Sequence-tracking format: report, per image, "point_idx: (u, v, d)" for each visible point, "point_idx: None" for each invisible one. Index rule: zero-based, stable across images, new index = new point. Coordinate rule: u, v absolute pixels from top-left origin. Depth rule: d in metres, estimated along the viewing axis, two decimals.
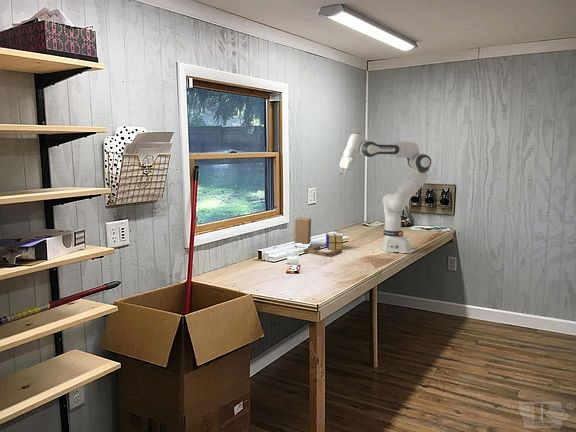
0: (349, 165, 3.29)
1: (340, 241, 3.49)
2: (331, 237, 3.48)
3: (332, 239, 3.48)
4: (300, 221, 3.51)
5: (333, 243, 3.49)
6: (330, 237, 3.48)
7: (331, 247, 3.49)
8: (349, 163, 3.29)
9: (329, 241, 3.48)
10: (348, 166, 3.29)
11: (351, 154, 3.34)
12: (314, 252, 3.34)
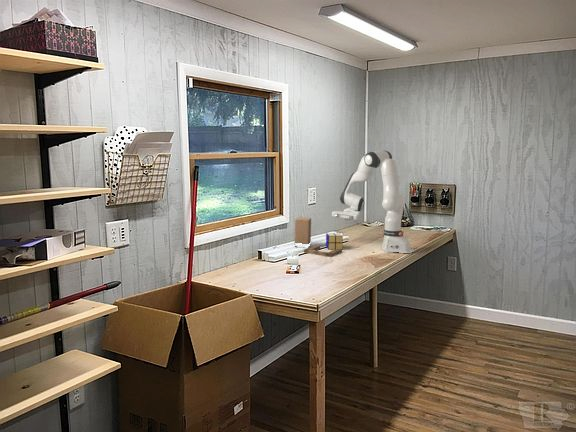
0: None
1: (340, 241, 3.49)
2: (331, 237, 3.48)
3: (332, 239, 3.48)
4: (300, 221, 3.51)
5: (333, 243, 3.49)
6: (330, 237, 3.48)
7: (331, 247, 3.49)
8: None
9: (329, 241, 3.48)
10: None
11: None
12: (314, 252, 3.34)
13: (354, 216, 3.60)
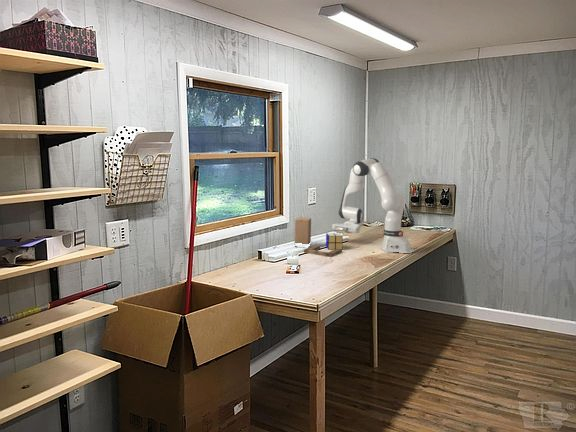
0: None
1: (340, 241, 3.49)
2: (331, 237, 3.48)
3: (332, 239, 3.48)
4: (300, 221, 3.51)
5: (333, 243, 3.49)
6: (330, 237, 3.48)
7: (331, 247, 3.49)
8: None
9: (329, 241, 3.48)
10: None
11: None
12: (314, 252, 3.34)
13: (353, 229, 3.62)
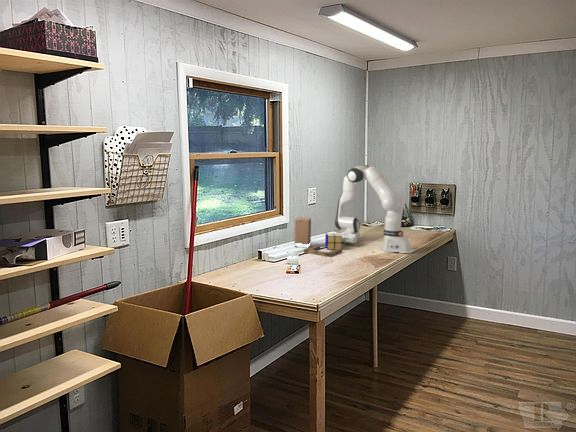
0: None
1: (339, 241, 3.48)
2: (330, 237, 3.47)
3: (331, 239, 3.47)
4: (300, 221, 3.51)
5: (332, 243, 3.48)
6: (329, 237, 3.47)
7: (331, 247, 3.48)
8: None
9: (328, 241, 3.48)
10: None
11: None
12: (314, 252, 3.34)
13: (350, 239, 3.58)
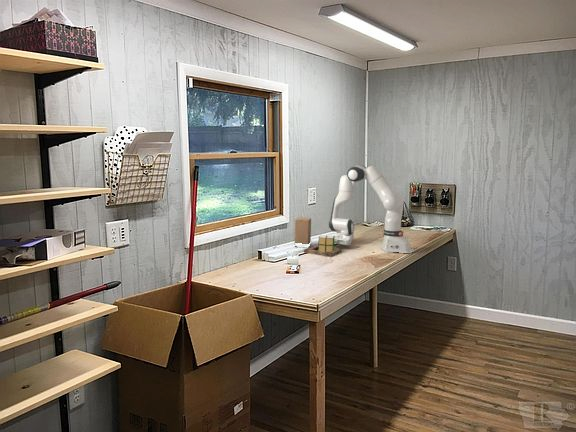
0: None
1: (331, 244, 3.40)
2: (321, 239, 3.40)
3: (322, 241, 3.40)
4: (300, 221, 3.51)
5: (323, 245, 3.41)
6: (320, 239, 3.40)
7: (322, 249, 3.41)
8: None
9: (319, 243, 3.41)
10: None
11: None
12: (314, 252, 3.34)
13: (344, 241, 3.50)
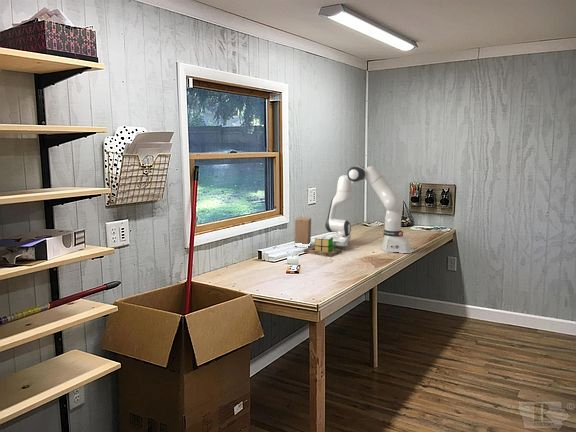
0: None
1: (326, 245, 3.35)
2: (317, 240, 3.37)
3: (318, 242, 3.37)
4: (300, 221, 3.51)
5: (319, 246, 3.37)
6: (316, 240, 3.37)
7: (318, 250, 3.38)
8: None
9: (315, 244, 3.38)
10: None
11: None
12: (314, 252, 3.34)
13: (341, 242, 3.45)
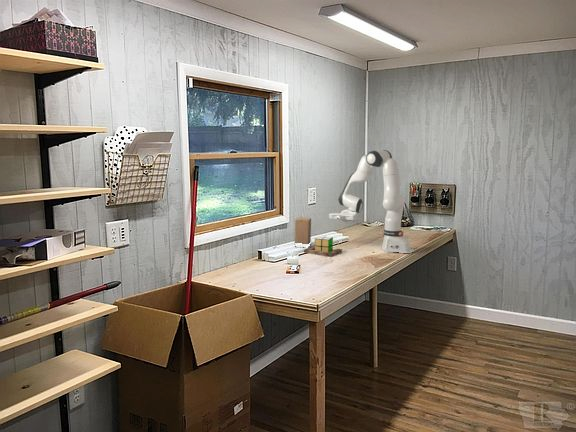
0: None
1: (326, 245, 3.35)
2: (317, 240, 3.37)
3: (318, 242, 3.37)
4: (300, 221, 3.51)
5: (319, 246, 3.37)
6: (316, 240, 3.37)
7: (318, 250, 3.38)
8: None
9: (315, 244, 3.38)
10: None
11: None
12: (314, 252, 3.34)
13: (351, 216, 3.54)
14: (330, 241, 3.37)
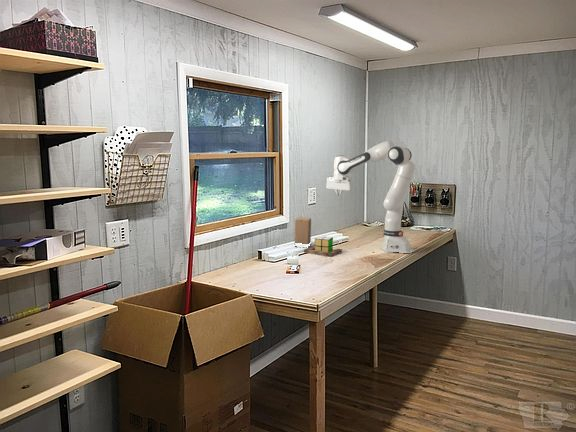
0: None
1: (326, 245, 3.35)
2: (317, 240, 3.37)
3: (318, 242, 3.37)
4: (300, 221, 3.51)
5: (319, 246, 3.37)
6: (316, 240, 3.37)
7: (318, 250, 3.38)
8: None
9: (315, 244, 3.38)
10: None
11: None
12: (314, 252, 3.34)
13: (348, 190, 3.70)
14: (330, 241, 3.37)
